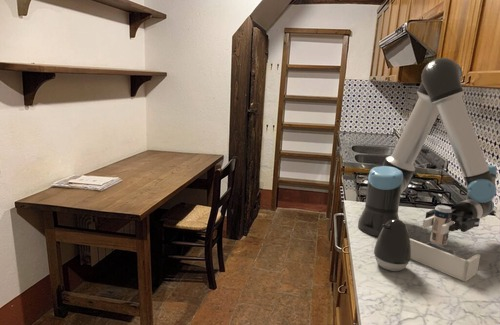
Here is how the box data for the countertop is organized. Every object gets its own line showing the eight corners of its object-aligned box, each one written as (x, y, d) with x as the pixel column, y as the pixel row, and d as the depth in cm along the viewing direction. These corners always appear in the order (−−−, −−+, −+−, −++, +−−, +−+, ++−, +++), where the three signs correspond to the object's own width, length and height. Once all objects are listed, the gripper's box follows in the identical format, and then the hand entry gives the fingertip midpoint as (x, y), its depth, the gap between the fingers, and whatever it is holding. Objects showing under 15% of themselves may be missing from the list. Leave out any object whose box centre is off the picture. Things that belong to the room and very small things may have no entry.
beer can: (447, 247, 110) (453, 210, 107) (430, 244, 111) (436, 208, 109) (445, 241, 114) (451, 205, 111) (429, 238, 116) (434, 203, 113)
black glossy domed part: (364, 261, 110) (370, 215, 106) (390, 256, 114) (396, 211, 111) (389, 278, 101) (396, 228, 97) (416, 272, 105) (424, 223, 102)
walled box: (465, 281, 101) (469, 262, 100) (388, 248, 119) (390, 232, 118) (480, 270, 108) (484, 252, 106) (405, 241, 126) (407, 225, 125)
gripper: (493, 231, 116) (462, 249, 102) (437, 214, 130) (403, 228, 116) (497, 209, 114) (466, 225, 100) (440, 195, 128) (406, 206, 114)
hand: (433, 227), depth 108 cm, fingers closed on beer can, 5 cm apart
